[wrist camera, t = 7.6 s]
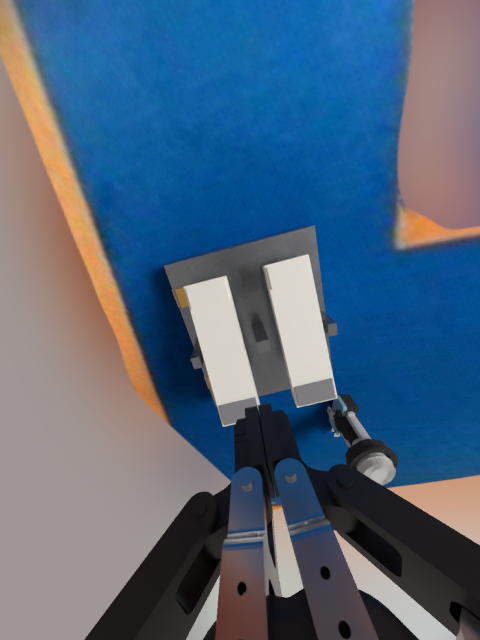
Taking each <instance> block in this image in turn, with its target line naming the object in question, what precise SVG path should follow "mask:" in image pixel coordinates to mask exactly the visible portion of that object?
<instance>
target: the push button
mask: <svg viewBox="0 0 480 640" xmlns="http://www.w3.org/2000/svg"><path fill="white" fill-rule="evenodd" d="M329 410H330V413H329ZM327 412H328V414H329V422H330V424H331V426H332V430H331V431H332V432H335V434H334V437H339V436H340V434H341V435H342V437H343V438H344V440H345V441H346V443H347V445H348V447H349V449H348V451H347V452H346V463H347V465H348V466H351V467H352V468H354V469H356V470H357V471H359V472H361V473H362V474H364V475H366V476H367V477H369V478H371V479H372V480H374V481H375V482H377V483H379V484H380V485H385V484H387V483H388V482H390V481H391V480H392V479H393V477H394V476H395V472H396V470H395V468H396V467H397V464H398V458H397V456H396V454H395V453H394V452H393V451H392V450H391V449H390V448H388V447H387V446H386V445H385V444H384V443H383V442H382V441H380V440H374V439H371V438H370V437H369V435H368V434H367V432H366V431H365V429H364V428H363V427H362V425H361V422H360V421H359V419H358V418H357V416H356V415H357V412H358V406H357V405H356V403H355V402H354V401H353V399H352V398H351V396H350V395H337V399H334V400H333V404H332V408H330V406H328V409H327ZM333 429H334V430H333ZM336 433H338V435H336Z"/></svg>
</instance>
